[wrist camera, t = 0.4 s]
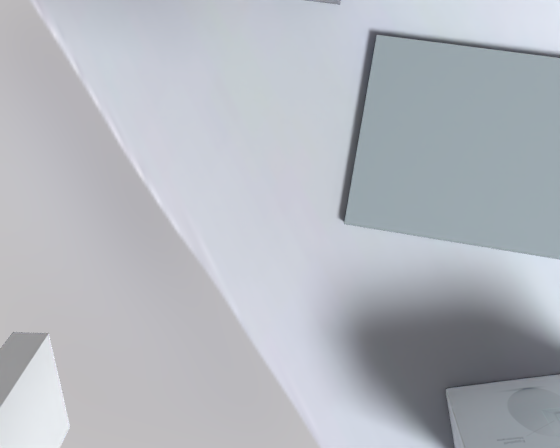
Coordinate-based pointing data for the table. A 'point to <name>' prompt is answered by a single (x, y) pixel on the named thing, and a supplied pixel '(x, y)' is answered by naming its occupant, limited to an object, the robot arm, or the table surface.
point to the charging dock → (327, 1)
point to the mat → (460, 146)
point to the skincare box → (506, 414)
